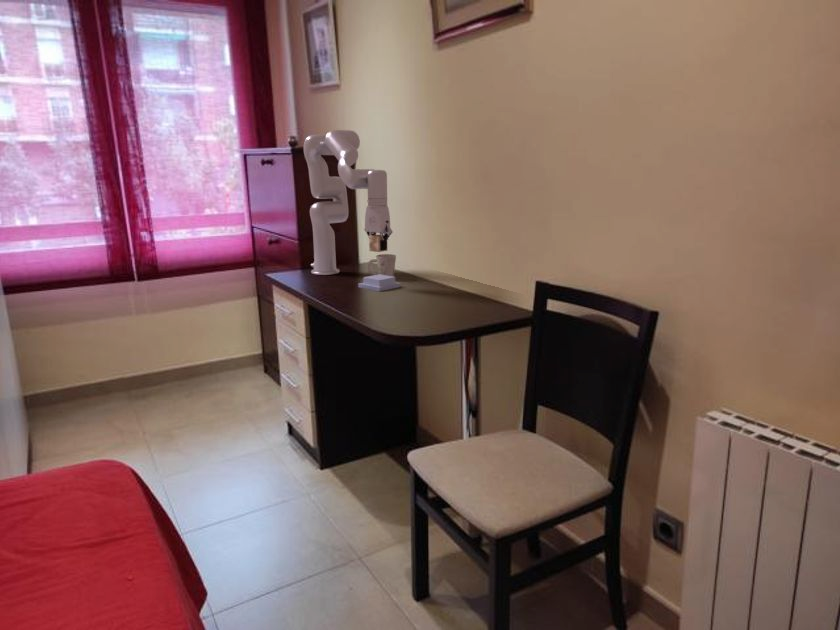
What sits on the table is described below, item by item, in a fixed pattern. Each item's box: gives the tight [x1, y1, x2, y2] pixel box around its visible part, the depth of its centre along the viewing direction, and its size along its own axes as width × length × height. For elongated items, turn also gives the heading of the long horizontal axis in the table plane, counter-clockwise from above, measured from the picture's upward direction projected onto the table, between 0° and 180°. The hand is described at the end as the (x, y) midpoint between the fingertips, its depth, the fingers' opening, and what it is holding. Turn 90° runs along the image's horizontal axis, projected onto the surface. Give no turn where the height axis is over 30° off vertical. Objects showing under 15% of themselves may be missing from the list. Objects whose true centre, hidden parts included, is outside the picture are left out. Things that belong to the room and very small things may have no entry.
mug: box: [366, 253, 397, 277], centre depth 253 cm, size 8×13×10 cm, turn 89°
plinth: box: [357, 274, 402, 292], centre depth 236 cm, size 12×12×4 cm
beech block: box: [368, 234, 388, 253], centre depth 232 cm, size 5×5×6 cm
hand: (378, 249), depth 233 cm, fingers closed on beech block, 5 cm apart
